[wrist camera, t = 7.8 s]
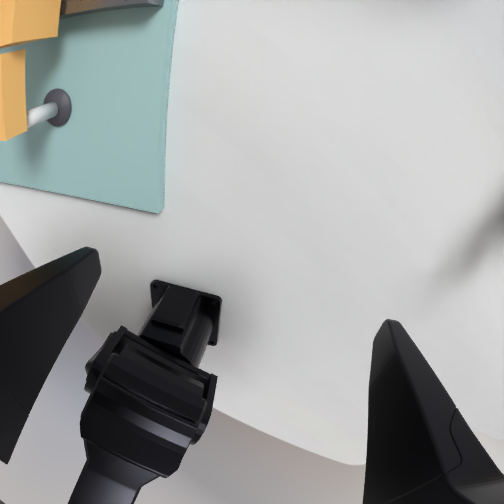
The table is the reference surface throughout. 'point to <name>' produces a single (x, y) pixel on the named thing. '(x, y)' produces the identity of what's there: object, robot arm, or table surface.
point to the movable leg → (22, 61)
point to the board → (98, 108)
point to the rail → (101, 6)
